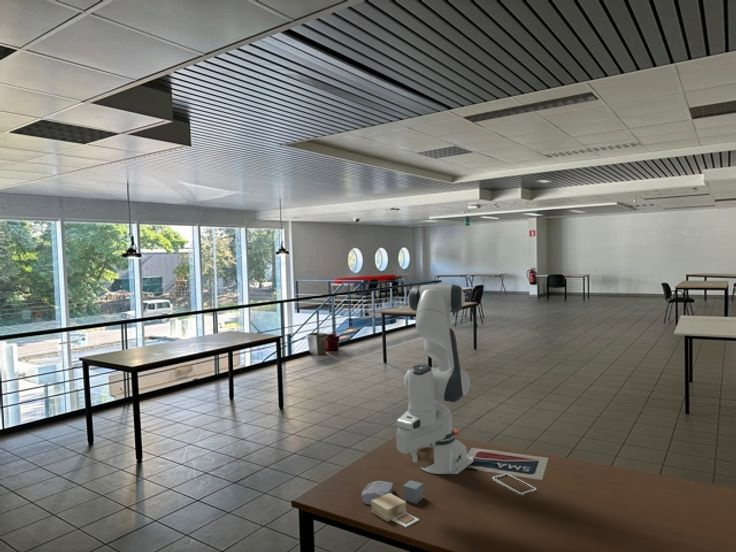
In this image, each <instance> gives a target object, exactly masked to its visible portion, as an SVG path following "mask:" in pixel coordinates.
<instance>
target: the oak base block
mask: <svg viewBox="0 0 736 552" xmlns="http://www.w3.org/2000/svg"><path fill="white" fill-rule="evenodd" d="M370 509H371V510H370V511H371V513H373V514H375V516H377V517H379V518H381V519H382V520H384V521H386V522H387V523H388V522H390V521H392V519H393V518H395V517H397V516H399V515H401V514H403V513H405V512H406V513H407V501H405V500H403V498H402V499H401V498H400V497H399V496H396V495H394V494H393V493H392V494H391V493H389V494H386V495H384V496H381V497H379V498H376V499H374V500H371V505H370Z"/></svg>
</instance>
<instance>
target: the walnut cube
mask: <svg viewBox="0 0 736 552" xmlns="http://www.w3.org/2000/svg"><path fill="white" fill-rule="evenodd" d="M416 454H417V456H420V461H419V462H417V463H415V462H413V456H412V455H411V463H412V465H414V466H417V467H418V468H419V467H420V469H422V468H426V467H428V466H431V465H433V464H434V448H431V447H428V446H424V447H422V448H419V449H417V453H416Z"/></svg>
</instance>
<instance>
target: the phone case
mask: <svg viewBox="0 0 736 552" xmlns="http://www.w3.org/2000/svg"><path fill="white" fill-rule="evenodd" d="M505 475H508V476H507V477H509V476H510V477H512V478H513V479H515V480H517V481H518V480H519V481H521V482H523V483H525V484H527V485H528V486H530V487H532V488H534V489H532V488H531V489H529V490H527V491H523V492H521V491H519V490H517V489H515V488H514V487H513V488H512V487H511V486H510V485H508V484H506V483H504V482H502V481H500V480H499V478H502V476H503V477H506V476H505ZM498 477H499V478H498ZM491 478H492V479H493V480H492V479H491V480H492V481H494V482H495V481H496V482H495V483H497V484H499V485H501V486H502V487H504V486H505V488H506V487H507V488H506V489H508V488H509V489H508V490H510V491H511V490H512V491H511V492H513V491H515V492H517V493H518V494H517V493H516V494H517V495H519V494H521V495H523V494H524V495H525V494H527V493H531V492H534V491H535V490H536V491H537V487H534V486H533V485H531V484H529V483H527V482H525V481H523V480H522V479H520V478H517V477H515V476H513V475H512V474H510V473H508V472H505V473H502V474H497V475H494V476H492V477H491ZM495 478H496V479H495ZM528 486H527V487H528ZM530 487H529V488H530ZM515 492H514V493H515ZM521 495H520V496H521ZM524 495H523V496H524Z"/></svg>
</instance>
